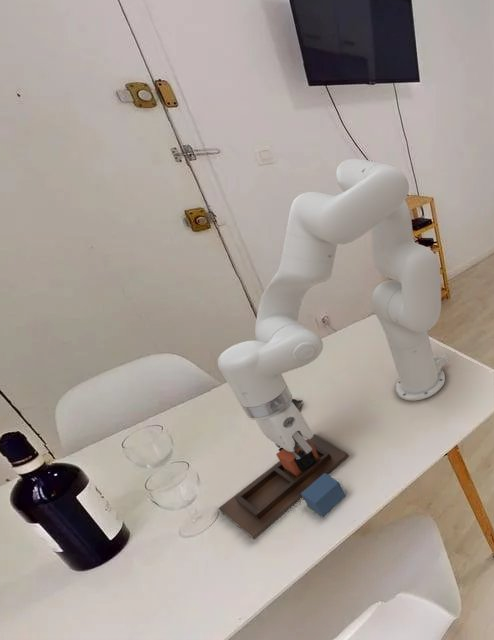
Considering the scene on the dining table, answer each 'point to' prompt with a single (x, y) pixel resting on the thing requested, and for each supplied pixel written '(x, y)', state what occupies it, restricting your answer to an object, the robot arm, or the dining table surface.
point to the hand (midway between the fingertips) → (300, 460)
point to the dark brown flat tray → (279, 490)
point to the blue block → (323, 494)
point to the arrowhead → (297, 403)
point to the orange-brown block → (288, 459)
